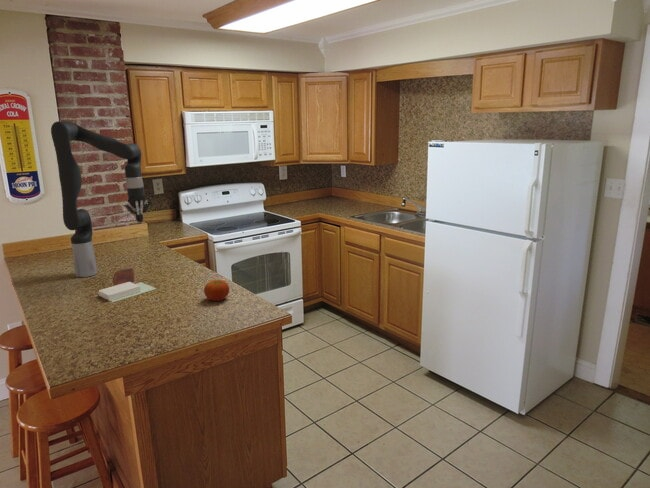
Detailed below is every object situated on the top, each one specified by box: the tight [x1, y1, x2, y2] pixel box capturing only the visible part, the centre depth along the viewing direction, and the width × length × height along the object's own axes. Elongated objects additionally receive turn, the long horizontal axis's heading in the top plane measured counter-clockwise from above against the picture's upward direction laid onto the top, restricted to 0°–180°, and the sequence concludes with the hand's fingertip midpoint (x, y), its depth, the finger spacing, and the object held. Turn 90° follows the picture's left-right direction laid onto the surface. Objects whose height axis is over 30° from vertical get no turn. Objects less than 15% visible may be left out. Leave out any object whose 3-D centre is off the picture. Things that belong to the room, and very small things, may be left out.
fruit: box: [203, 279, 230, 302], centre depth 196 cm, size 11×10×8 cm
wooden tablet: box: [112, 267, 136, 286], centre depth 229 cm, size 27×10×2 cm, turn 22°
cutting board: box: [110, 281, 157, 303], centre depth 207 cm, size 20×14×1 cm
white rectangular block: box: [98, 282, 141, 302], centre depth 204 cm, size 3×10×14 cm
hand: (140, 221), depth 225 cm, fingers closed
